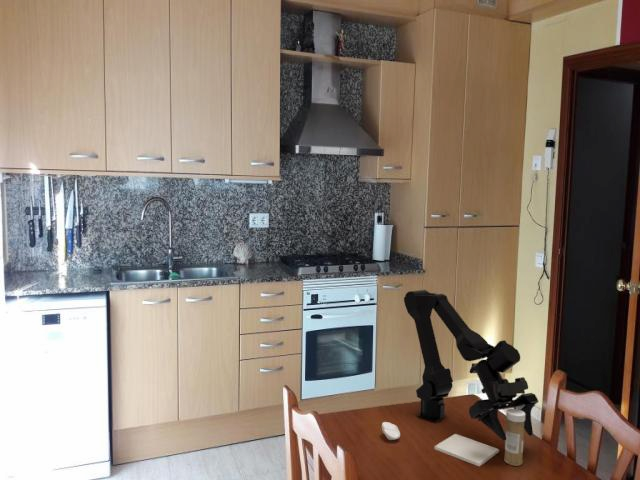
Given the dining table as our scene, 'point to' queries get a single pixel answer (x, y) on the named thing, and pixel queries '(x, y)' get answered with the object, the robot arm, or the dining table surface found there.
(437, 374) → the robot arm
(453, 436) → the ceramic tile
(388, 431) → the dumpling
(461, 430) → the dining table surface
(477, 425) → the dining table surface
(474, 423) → the dining table surface
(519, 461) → the sprinkles bottle
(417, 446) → the dining table surface
